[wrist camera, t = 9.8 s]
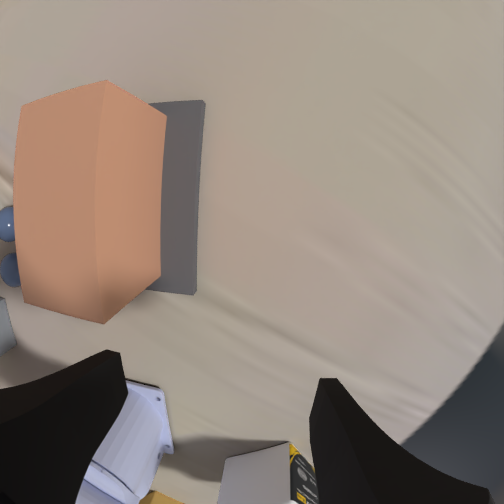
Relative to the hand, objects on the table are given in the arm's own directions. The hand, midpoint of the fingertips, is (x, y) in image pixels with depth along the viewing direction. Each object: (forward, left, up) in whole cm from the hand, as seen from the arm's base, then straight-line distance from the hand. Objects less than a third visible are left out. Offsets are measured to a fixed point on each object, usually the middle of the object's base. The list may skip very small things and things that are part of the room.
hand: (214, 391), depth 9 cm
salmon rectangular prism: (+6, +8, -9) cm, 13 cm away
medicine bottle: (-19, -4, -10) cm, 22 cm away
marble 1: (+4, +20, -9) cm, 22 cm away
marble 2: (0, +20, -9) cm, 22 cm away
